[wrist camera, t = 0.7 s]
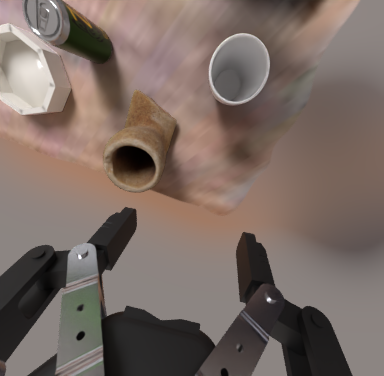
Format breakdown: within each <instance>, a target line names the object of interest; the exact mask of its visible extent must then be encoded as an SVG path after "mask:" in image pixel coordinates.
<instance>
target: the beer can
mask: <svg viewBox="0 0 384 376" xmlns="http://www.w3.org/2000/svg"><path fill="white" fill-rule="evenodd" d="M22 7H23V14H24V17H25V20H26V22H27V24H28V26H29V28H30V29H31V30H32V31H33V33H34V34H35V35H37V36H38V37H39V38H41V39H42V40H43V41H45V42H46V43H48V44H50V45H53V46H55V47H58V48H60V49H63V50H65V51H68V52H70V53H73V54H75V55H78V56H80V57H83V58H85V59H88V60H90V61H93V62H95V63H98V64H103V63H105V62H107V61H108V60H109V59H110V57H111V55H112V45H111V42H110V39H109V37H108V35H107V34H106V33H105V32H104V31H103V30H102V29H101V28H99V27H98V26H97V25H95V24H94V23H93V22H91V21H90V20H89V19H87V18H86V17H84V16H83V15H82V14H80V13H79V12H78V11H76V10H75V9H74V8H72V7H71V6H70V5H68V4H67V3H65V2H64V1H63V0H23V2H22Z"/></svg>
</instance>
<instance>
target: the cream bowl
mask: <svg viewBox="0 0 384 376" xmlns="http://www.w3.org/2000/svg"><path fill="white" fill-rule="evenodd" d="M70 91H71V86H70V83H69V80H68V77H67V74H66V71H65V68H64V66H63V63H62V60H61V57H60V55H59V54H58V53H56V52H55V51H54V50H53V49H52V48H50V47H49V46H48V45H47V44H45V43H44V42H43V41H42V40H40V39H39V38H38V37H37V36H36V35H34V34H33V33H32V32H29V31H27V30H25V29H22V28H20V27H18V26H15V25H13V24H11V23H8V24H4V25H0V100H1V101H3V102H4V103H6V104H7V105H9V106H10V107H11V108H13V109H14V110H16V111H17V112H18V113H20V114H21V115H39V114H47V113H55V112H62V111H63V108H64V106H65V103H66V101H67V98H68V96H69V93H70Z"/></svg>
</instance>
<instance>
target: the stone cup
mask: <svg viewBox="0 0 384 376" xmlns="http://www.w3.org/2000/svg"><path fill="white" fill-rule="evenodd" d="M176 122H177V121H176V119H174V118H173V117H171V116H170V114H169V113H167V112H166V111H165V110H163V109H162V108H161V107H160V106H158V105H157V104H156V103H155V101H154V100H153V99H151V98H150V97H148V96H147V95H145V94H143V93H142V92H141V91H139V90H135V91H134V94H133V97H132V100H131V104H130V107H129V112H128V116H127V120H126V124H125V128H124V129H123V130H121V131H119V132H118V133H116V134H115V135H114V136H113V137H111V138H110V140H109V141H108V143H107V144H106V146H105V149H104V153H103V165H104V169H105V172H106V174H107V176H108V177H109V179H110V180H111V181H112V182H113V183H114V184H115V185H116V186H118V187H119V188H120V189H123V190H126V191H129V192H144V191H147V190H149V189H151V188H153V187H154V186H155V185H156V184H157V183H158V182H159V180H160V178H161V176H162V173H163V170H164V167H165V163H166V153H167V151H168V148H169V145H170V142H171V138H172V135H173V132H174V129H175V126H176Z"/></svg>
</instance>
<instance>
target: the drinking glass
mask: <svg viewBox="0 0 384 376" xmlns="http://www.w3.org/2000/svg"><path fill="white" fill-rule="evenodd" d="M269 70H270V59H269V54H268V51H267V49H266V47H265V45H264V44H263V42H262V41H261V40H260V39H259V38H257V37H256V36H254V35H251V34H247V33H240V34H235V35H233V36H230V37H228V38H227V39H225V40H224V41H223V42H222V43H221V44H220V45H219V46H218V47H217V49H216V50H215V52H214V54H213V56H212V59H211V62H210V66H209V72H208V82H209V87H210V90H211V92H212V94H213V96H214V97H215V98H216V99H217V100H218V101H219V102H221V103H222V104H225V105H229V106H235V105H240V104H243V103H246V102H248V101H250V100H251V99H253V98H254V97H255V96H256V95H258V93H259V92H260V91H261V90H262V88H263V87H264V85H265V83H266V81H267V78H268V75H269Z"/></svg>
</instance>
